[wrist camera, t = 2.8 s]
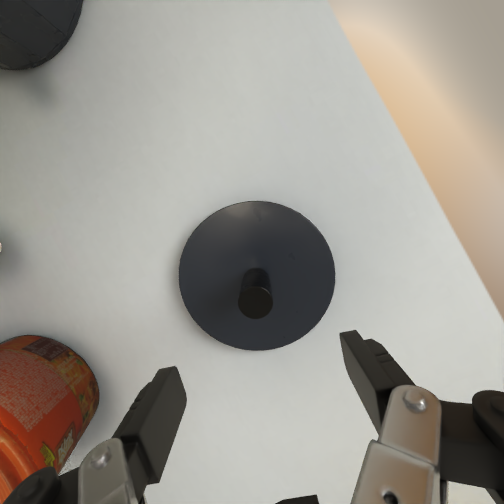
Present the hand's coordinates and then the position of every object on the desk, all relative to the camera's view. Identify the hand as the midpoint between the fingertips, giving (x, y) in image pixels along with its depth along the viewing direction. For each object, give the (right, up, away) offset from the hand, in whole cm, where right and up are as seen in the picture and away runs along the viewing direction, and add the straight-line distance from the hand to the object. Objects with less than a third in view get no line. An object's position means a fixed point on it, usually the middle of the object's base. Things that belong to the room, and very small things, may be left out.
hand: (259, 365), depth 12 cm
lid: (0, +3, +12) cm, 12 cm away
